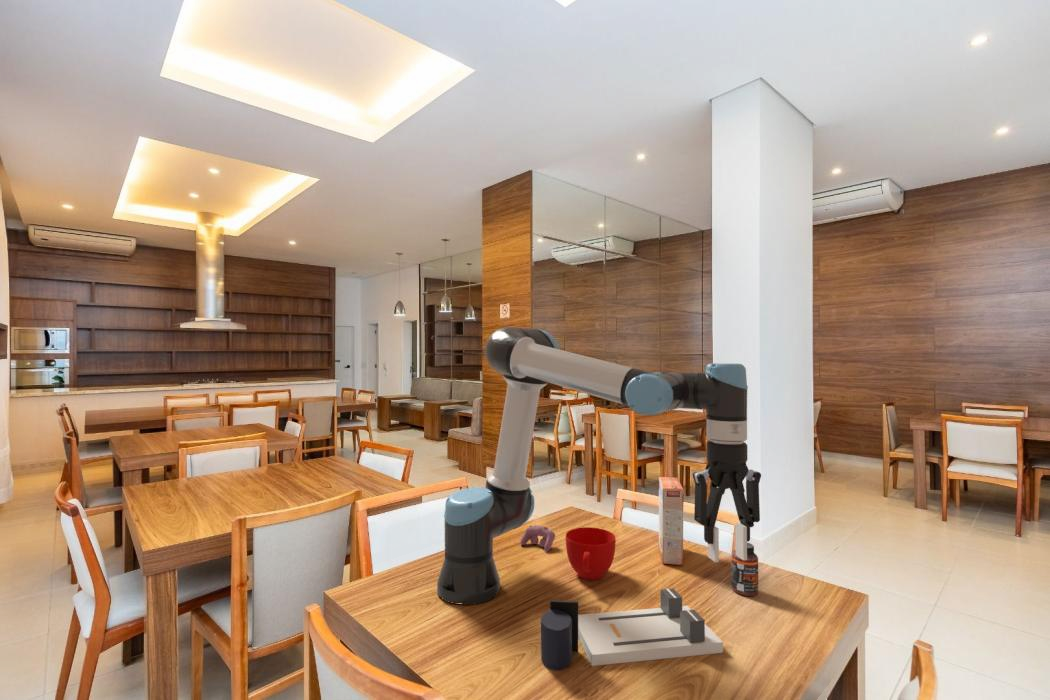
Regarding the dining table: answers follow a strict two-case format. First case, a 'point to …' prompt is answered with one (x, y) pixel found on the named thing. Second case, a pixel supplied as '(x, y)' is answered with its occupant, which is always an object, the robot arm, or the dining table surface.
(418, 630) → the dining table surface
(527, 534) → the purple arched piece
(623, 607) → the dining table surface
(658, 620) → the mixing board
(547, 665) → the speaker
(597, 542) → the ceramic cup
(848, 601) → the dining table surface
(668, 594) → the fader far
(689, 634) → the fader near
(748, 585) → the supplement bottle
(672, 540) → the cracker box
